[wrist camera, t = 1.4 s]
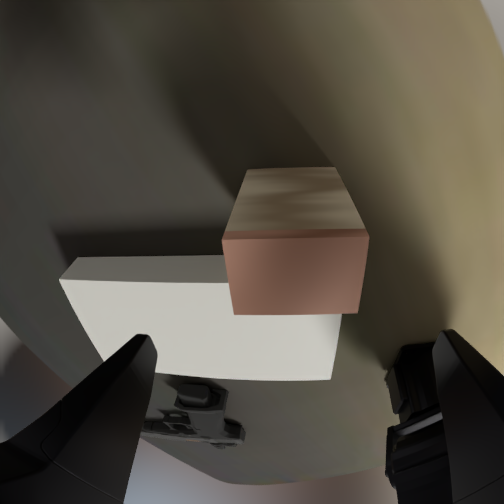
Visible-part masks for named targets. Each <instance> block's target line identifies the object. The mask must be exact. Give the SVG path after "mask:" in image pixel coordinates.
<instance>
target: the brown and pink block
mask: <svg viewBox="0 0 504 504" xmlns="http://www.w3.org/2000/svg"><path fill="white" fill-rule="evenodd" d="M222 245H223V252H224V258H225V264H226V270H227V277H228V283H229V289H230V295H231V301H232V307H233V313H234V315H320V314H349V313H358V308H359V303H360V297H361V292H362V286H363V280H364V273H365V267H366V260H367V253H368V245H369V235H368V233H367V230H366V228H365V226H364V224H363V222H362V220H361V217H360V215H359V213H358V211H357V209H356V207H355V205H354V203H353V201H352V199H351V197H350V195H349V193H348V191H347V189H346V187H345V185H344V183H343V181H342V179H341V177H340V175H339V173H338V172H337V170H336V168H335V167H295V168H265V169H247V172H246V175H245V177H244V180H243V183H242V185H241V188H240V191H239V193H238V196H237V199H236V202H235V204H234V207H233V210H232V213H231V215H230V218H229V221H228V224H227V226H226V229H225V232H224V235H223V238H222Z"/></svg>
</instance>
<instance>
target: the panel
mask: <svg viewBox="0 0 504 504" xmlns="http://www.w3.org/2000/svg"><path fill="white" fill-rule="evenodd" d="M59 281H60V283H61V285H62V287H63V289H64V291H65V293H66V295H67V297H68V299H69V301H70V303H71V305H72V307H73V309H74V311H75V313H76V314H77V316H78V318H79V320H80V322H81V324H82V325H83V327H84V329H85V331H86V332H87V334H88V336H89V338H90V339H91V341H92V343H93V344H94V346H95V348H96V349H97V351H98V352H99V354H100V356H101V357H102V359H103V360H104V361H106V360H107V359H108V358H109V357H110V356H111V355H113V354H114V353H115V352H116V351H117V350H118V349H119V348H121V347H122V346H123V345H124V344H125V343H126V342H128V341H129V340H130V339H131V338H132V337H133V336H135V335H136V334H148V335H149V336H150V337H151V339H152V341H153V343H154V345H155V348H156V350H157V353H158V358H157V364H156V369H155V372H159V373H167V374H176V375H185V376H196V377H208V378H222V379H240V380H279V381H293V380H330V379H331V374H332V369H333V364H334V359H335V353H336V347H337V342H338V336H339V330H340V323H341V317H342V314H320V315H234V313H233V307H232V301H231V295H230V289H229V283H228V277H227V270H226V264H225V258H224V255H197V256H133V257H78V258H77V259H76V260H75V261H74V262H73V263H72V264H71V266H70V267H69V268H68V269H67V270H66V271H65V272H64V274H63V275H62V276H61V277H60V278H59Z"/></svg>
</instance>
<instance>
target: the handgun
mask: <svg viewBox="0 0 504 504" xmlns="http://www.w3.org/2000/svg"><path fill="white" fill-rule="evenodd" d="M212 391H213V392H214V393H210V390H209V388H208V387H207V386H203V385H191V384H181V385H180V386H179V389H178V392H177V394H178V395H177V398H176V401H175V404H174V406H175V407H177V408H179V409H180V410H182V411H184V412H187V413H188V416H189V418H186V417H171V416H164V419H163V422H151V421H145V423H143V427H142V430H141V434H140V435H141V436H142V435H143V436H147V437H148V436H149V437H154V438H155V437H157V438H163V439H169V440H178V441H199V442H202V443H210V444H211V445H213V446H214V447H216V448H218V449H225V446H234V447H236V446H237V444H243V443H244V440H245V434H246V432H245V431H244V430H243V429H242V425H231V424H228V423H226V422H224V418H223V417H224V413H225V409H226V407H225V406H226V402H227V397H228V393H229V392H228V391H227V390H212Z"/></svg>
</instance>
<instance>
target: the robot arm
mask: <svg viewBox="0 0 504 504" xmlns="http://www.w3.org/2000/svg"><path fill="white" fill-rule="evenodd" d="M157 358H158V353H157V350H156V348H155V345H154V343H153V341H152V339H151V337H150V336H149V335H148V334H136V335H135V336H133V337H132V338H131V339H130V340H129V341H128V342H126V343H125V344H124V345H123V346H122V347H121V348H119V349H118V350H117V351H116V352H115V353H114V354H113V355H111V356H110V357H109V358H108V359H107V360H106V361H104V362H103V363H102V364H101V365H100V366H99V367H97V368H96V369H95V370H94V371H93V372H92V373H91V374H89V375H88V376H87V377H86V378H85V379H84V380H83V381H81V382H80V383H79V384H78V385H77V386H76V387H74V388H73V389H72V390H71V391H70V392H69V393H68V394H66V396H64V397H63V398H62V400H60V401H58V402H57V403H56V404H55V405H54V406H53V407H51V408H50V409H49V410H48V411H47V412H46V413H44V414H43V415H42V416H41V417H39V418H38V419H37V420H35V421H34V422H33V423H31V424H30V425H28V426H27V427H26V428H24V429H23V430H21V431H20V432H19V433H17V434H16V435H14V436H13V437H12V438H10V439H9V440H7V441H5V442H2V443H0V504H123V502H124V498H125V494H126V489H127V485H128V480H129V477H130V473H131V469H132V465H133V460H134V457H135V453H136V449H137V445H138V441H139V438H140V434H141V430H142V427H143V423H144V419H145V416H146V412H147V409H148V405H149V401H150V397H151V392H152V386H153V380H154V375H155V369H156V364H157ZM386 385H387V388H389V393H390V398H391V403H392V409H393V413H394V414H399V419H400V424H398V425H396V426H391V427H388V429H387V442H386V468H385V469H386V470H385V475H386V477H388V478H389V481H390V483H391V485H392V487H393V488H394V489H396V491H397V497H398V504H504V376H503V375H502V374H501V373H500V372H499V371H498V370H497V369H496V368H495V367H494V366H493V365H492V364H491V363H490V362H489V361H488V360H486V359H485V358H484V357H483V356H482V355H481V354H480V353H479V352H478V351H477V350H476V349H475V348H474V347H472V346H471V345H470V344H469V343H468V342H467V341H466V340H465V339H464V338H463V337H461V336H460V335H459V334H458V333H457V332H456V331H455V330H453V329H448V330H442V331H441V332H440V334H439V336H438V338H437V340H436V342H434V343H426V344H418V345H409V346H404V347H403V348H401V350H400V352H399V355H398V357H397V360H396V362H395V364H394V365H393V367H392V369H391V372H390V374H389V376H388V379H387V383H386Z"/></svg>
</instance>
